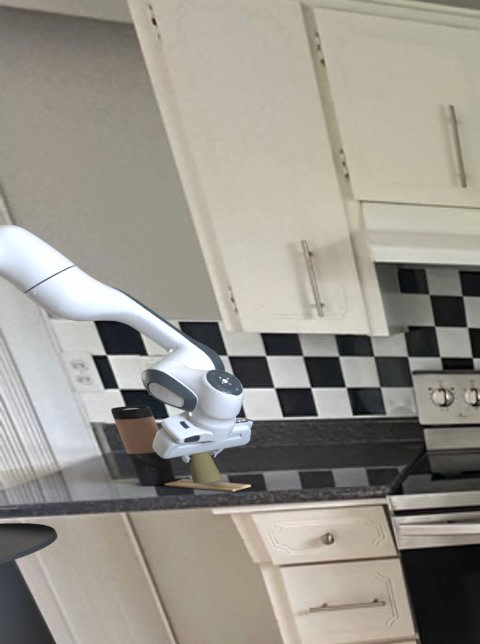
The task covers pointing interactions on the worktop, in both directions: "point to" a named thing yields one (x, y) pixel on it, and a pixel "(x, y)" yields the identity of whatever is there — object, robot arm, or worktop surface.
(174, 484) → the strip
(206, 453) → the olive green tapered cylinder
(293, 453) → the worktop surface
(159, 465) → the travel mug
